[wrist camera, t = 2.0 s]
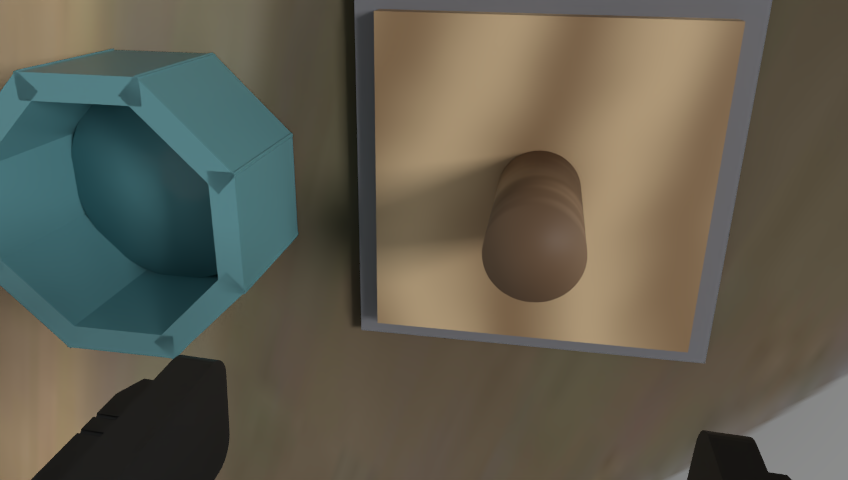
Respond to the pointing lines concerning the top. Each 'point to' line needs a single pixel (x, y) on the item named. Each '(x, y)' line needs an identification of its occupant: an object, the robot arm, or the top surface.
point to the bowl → (138, 196)
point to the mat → (742, 3)
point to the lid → (548, 171)
